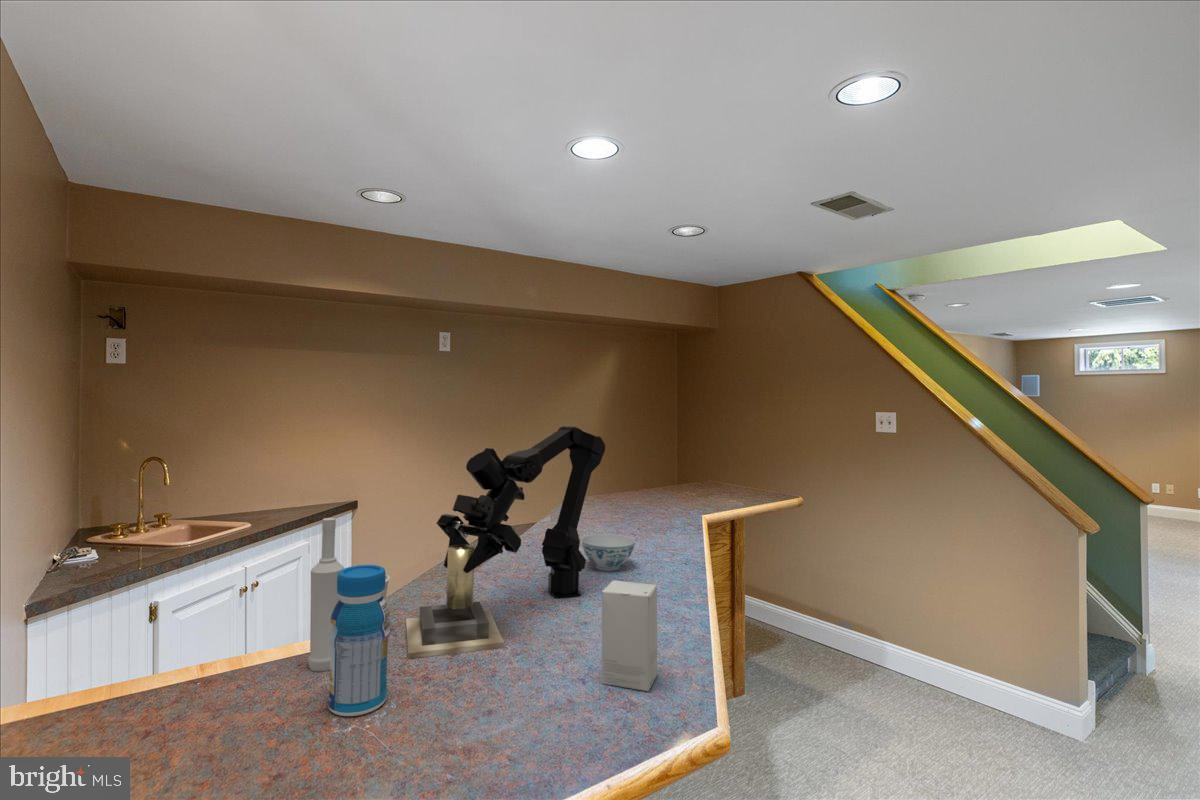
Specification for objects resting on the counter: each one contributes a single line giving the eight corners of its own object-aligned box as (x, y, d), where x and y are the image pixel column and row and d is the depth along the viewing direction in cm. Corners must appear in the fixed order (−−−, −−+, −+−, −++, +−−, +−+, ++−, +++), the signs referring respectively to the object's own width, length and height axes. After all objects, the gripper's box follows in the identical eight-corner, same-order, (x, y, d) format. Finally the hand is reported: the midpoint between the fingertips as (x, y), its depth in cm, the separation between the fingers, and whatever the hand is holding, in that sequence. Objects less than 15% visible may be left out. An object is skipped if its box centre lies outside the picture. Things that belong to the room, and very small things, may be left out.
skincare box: (658, 676, 98) (660, 584, 98) (648, 694, 92) (650, 596, 92) (611, 667, 101) (613, 578, 101) (598, 684, 94) (601, 589, 95)
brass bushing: (475, 600, 114) (477, 544, 114) (469, 609, 109) (470, 550, 109) (450, 599, 114) (452, 543, 114) (442, 608, 109) (444, 549, 109)
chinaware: (635, 576, 155) (636, 547, 155) (579, 574, 155) (580, 545, 155) (633, 561, 170) (633, 534, 170) (582, 559, 170) (582, 533, 170)
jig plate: (489, 615, 124) (489, 596, 124) (503, 647, 108) (504, 626, 108) (405, 623, 118) (406, 603, 118) (408, 658, 102) (408, 636, 102)
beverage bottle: (350, 725, 81) (354, 582, 81) (314, 707, 85) (318, 571, 85) (399, 699, 88) (403, 568, 88) (364, 684, 92) (368, 559, 92)
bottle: (315, 658, 101) (319, 515, 101) (345, 658, 101) (350, 516, 102) (302, 672, 96) (307, 522, 96) (334, 672, 96) (339, 522, 96)
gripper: (444, 475, 120) (399, 537, 111) (513, 483, 110) (469, 553, 101) (471, 507, 127) (430, 569, 117) (537, 518, 117) (499, 587, 107)
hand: (455, 569), depth 111 cm, fingers closed on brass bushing, 5 cm apart
